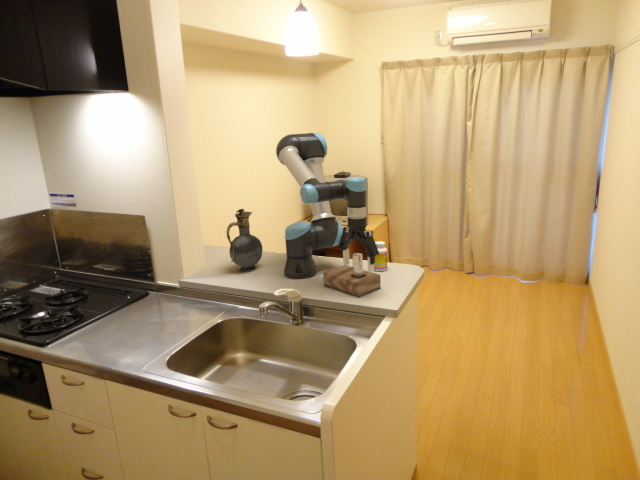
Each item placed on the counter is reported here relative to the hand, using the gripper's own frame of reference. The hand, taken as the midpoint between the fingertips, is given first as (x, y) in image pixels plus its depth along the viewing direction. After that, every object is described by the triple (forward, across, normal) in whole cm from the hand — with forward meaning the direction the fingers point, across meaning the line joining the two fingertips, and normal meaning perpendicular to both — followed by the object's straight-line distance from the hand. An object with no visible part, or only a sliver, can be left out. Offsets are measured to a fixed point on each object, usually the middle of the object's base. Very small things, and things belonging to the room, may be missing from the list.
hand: (358, 268), depth 184 cm
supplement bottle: (+9, -10, +25) cm, 29 cm away
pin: (+8, 0, 0) cm, 8 cm away
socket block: (+9, -4, 0) cm, 10 cm away
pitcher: (+9, -59, -17) cm, 62 cm away
